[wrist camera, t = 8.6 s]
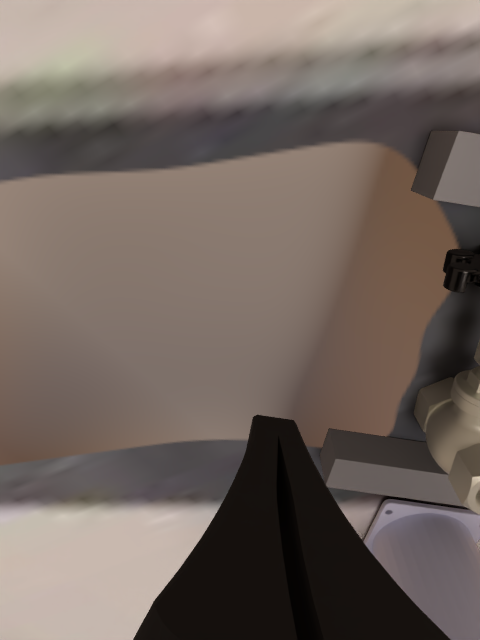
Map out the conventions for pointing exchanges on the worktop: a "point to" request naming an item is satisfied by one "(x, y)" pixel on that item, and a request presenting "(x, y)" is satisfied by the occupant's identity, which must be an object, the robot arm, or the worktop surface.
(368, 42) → the worktop surface
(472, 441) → the valve
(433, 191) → the chassis bay
